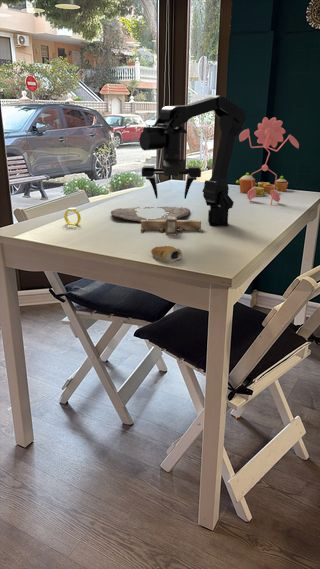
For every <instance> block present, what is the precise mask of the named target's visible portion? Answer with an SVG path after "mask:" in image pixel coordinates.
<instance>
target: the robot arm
mask: <svg viewBox="0 0 320 569" xmlns="http://www.w3.org/2000/svg"><path fill="white" fill-rule="evenodd" d="M210 112H214V115H215V116H216V117H217V118H218V119H219V125H218V126H219V129H220V132H221V133H220V140H219V144H218V149H217V153H216V159H215V163H214V166H213V167H214V168H213V172H212V175H211V178H210V179H209V180H208V179H205V181H204V184H203V186H204V187H203V188H202V193H203V194H202V196H203V199H204V200H205V204H206V206H209V209H208V211H207V214H208V215H207V223H208V224H209V226H212V227H213V226H216V227H217V226H218V227H220V226H222V227H226V226H229V210H230V209H233V206H234V203H235V202H234V201H233V199H232V198H231V197H230V195H229V183H228V181H227V179H228V173H229V169H230V165H231V160H232V156H233V151H234V147H235V142H236V138H237V136H238V135H239V133H241V132H242V131H243V130H242V129H243V127H244V125H245V122H246V117H247V115H246V112H245V110H244V109H243V108H242V107H239V106H238V105H237V104H235V103H233V102H231V101H230V100H228V99H227V98H226V97H225V96H224V95H211V96H210V97H207V98H204V99H200V100H198V101H194V102H191V103H188V104H184V105H182V104H181V105H167V106H164V107H162V108H161V109H160V112H159V116H158V117H157V119H156V121H155V122H154V124H153V125H152V127H151V126H142V127H143V128H142V130H143V131H142V132H141V133H140V135H139V138H138V139H139V142H138V143H139V146H140V148H141V150H142V151H157V150H162V157H161V158H162V162H161V168H159V167H158V168H155V165H143V166H142V168H141V177H142V178H144V177H145V180H149V182H150V184H151V186H152V189H153V193H154V196H155V198H156V200H157V199H158V187H157V186H158V184H157V178H156V177H157V176H156V175H163V176H165V177H169V176H173V177H178V176H180V175H185V176H186V181H185V185H184V186H185V187H184V197H183V198H184V200H185V199H187V196H188V193H189V189H190V188H191V186H192V184H193V181H196V180H197V179H198V178H201V177H202V169H201V167H200V166H197V165H195V166H194V165H193V166H192V165H188V166H187V168H186V164H187V163H186V161H187V160H186V159H185V158H184V159H183V158H181V156H182V155H181V151H182V148H181V146H182V144H181V143H182V135H183V134H187V133H188V131H187V130H186V129H185V128H184V127H183V125H185V123H188V122H189V120H191V119H192V118H194V117H197V116H200V115H203V114H207V113H210Z"/></svg>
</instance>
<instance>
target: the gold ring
mask: <svg viewBox="0 0 320 569" xmlns="http://www.w3.org/2000/svg"><path fill="white" fill-rule="evenodd" d="M69 212H73V213H75V214H76V216H77V222H76V223H73V222H71V221H69V218H68V213H69ZM64 220H65V222H66V224H68V225H70V226H77V225H78V224H80V222H81V220H82V219H81V214H80V212H79V211H78V210H77V208H76V207H68V208H67V210H66V211H65V212H64Z"/></svg>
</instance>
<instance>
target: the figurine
mask: <svg viewBox="0 0 320 569" xmlns="http://www.w3.org/2000/svg"><path fill="white" fill-rule="evenodd" d="M282 125H283V121H282V120H277V117H274V116H273V117H272V118H270V119H269V118H268V117H266V116H265V117H263V119H262V122H259V123H258V124H257V130H256V131H254V135H255V137H257V140H256V141H257V143H258V144H262V145H257V146H253V145H252V141H251V136H250V133H251V132H250V128H247V129H244V130H241V131H240V132H239V133H240V134H239V136H238V140H239V142H244V141H245V140H246V139H248V141H249V146H250V148H251V149H254V148H255V149H257V148H258V149H259V148H264V149H265V150H266V151H267V153H268V155H267V157H266V161H265V164H262V166H261V168H260V169H258V170H255V171H253V172H252V173H251V174H250V176H251V183H252V177H253V175H254V174H256V173H258V172H260V171H261V170H262V171H264V172H266V171H269V172H271V173H272V174H274V176H275V179H274V184H273V185H274V190H271V192H270V194H269V195H270V198H269V197H266V199H269V200H270V203H269V204H270V206H272V204H273V201H275V202H277V203H279V202H280V200H281V197H280V196H281V195H280V193H278V191H276V190H275V187H276V180H277V177H278V175H277V174H276V173H275V172H274V171H272V170H271V169H269V166H268V165H267V163H268V160H269V157H270V155H271V152H270V150H271V151H273V152H277V153H278V151H279V150H280V149H281V148H282V147H283V146H284V144H285V143H286V142H287V141H288V140H289V142H290V143H291V145H293V146H294V148H296V149H299V148H300V147H299V146H300V143H299V141H298V140H297V139H296V138H295V137H294V136H293V135H292V134H288V136H287V138H286V139H285V140H284V136H283V135H284V134H285V133H287V132H286V130H285V129H284V128H283V127H282ZM278 142H279V143H281V145H280V146H279V147H278V148H277V149H276V147H277V146H278ZM270 146H271V147H272V148H271V147H270ZM268 149H269V150H268ZM255 195H256V190H255V189H253V185H252V189H250V190H249V191H248V193H246V196H247V197H246V198H247V200H249V204H251V202H252V200H253V199H257V196H255ZM286 206H287V205H286V204H285V205H284V207H286Z"/></svg>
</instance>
